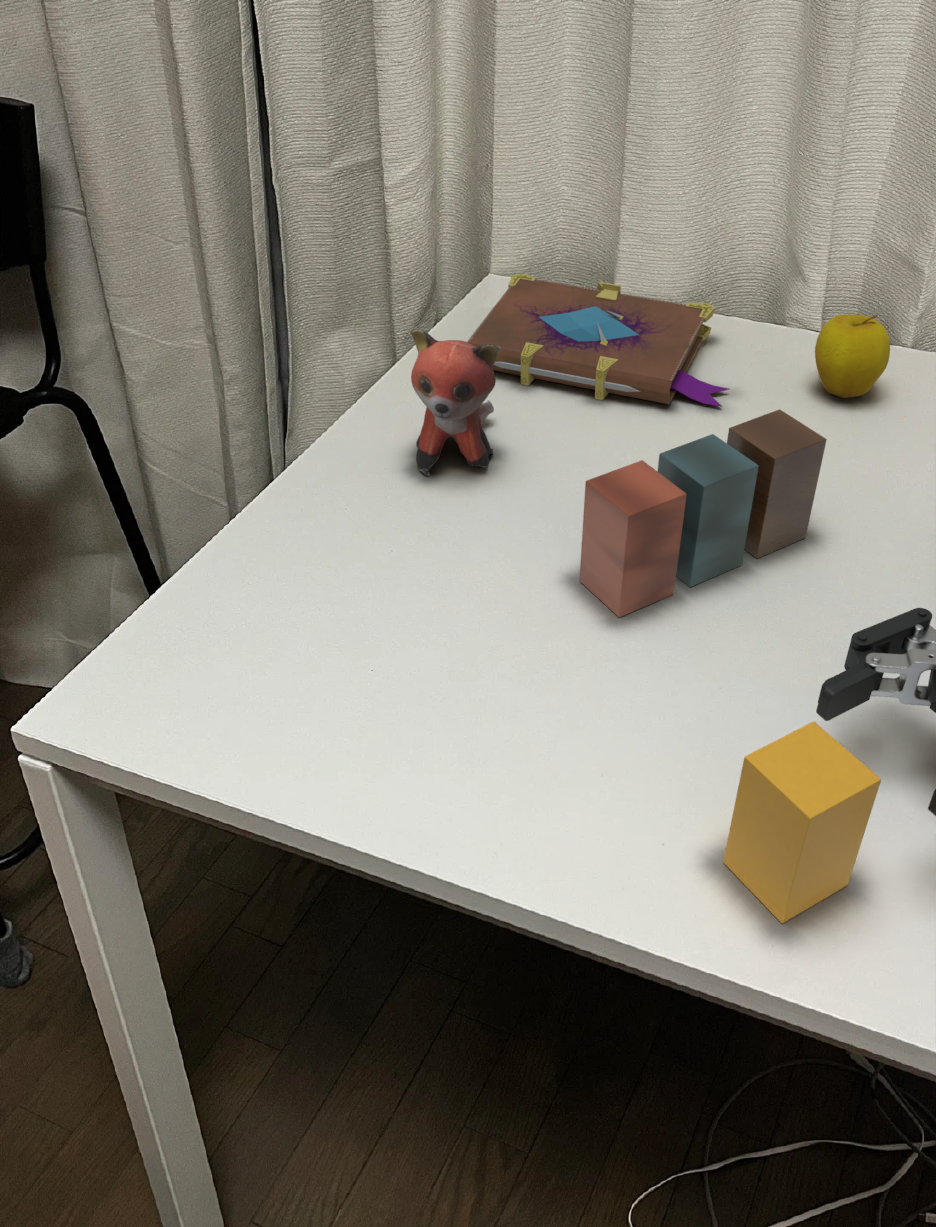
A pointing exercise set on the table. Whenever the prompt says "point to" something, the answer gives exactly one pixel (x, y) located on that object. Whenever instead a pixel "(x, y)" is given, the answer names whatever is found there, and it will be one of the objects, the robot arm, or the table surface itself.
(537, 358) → the book
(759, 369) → the table surface
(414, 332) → the stuffed fox
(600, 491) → the three coloured blocks
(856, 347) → the apple
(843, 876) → the block
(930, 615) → the robot arm
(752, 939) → the table surface
